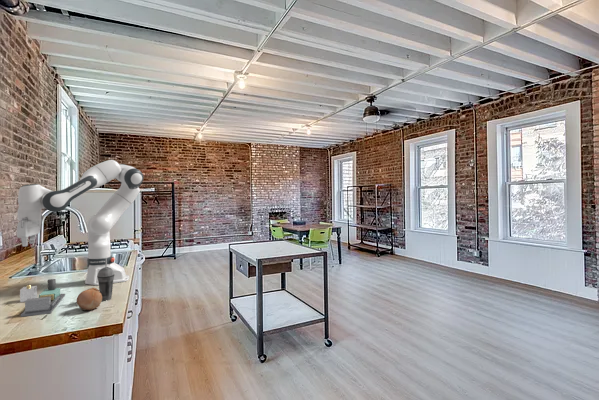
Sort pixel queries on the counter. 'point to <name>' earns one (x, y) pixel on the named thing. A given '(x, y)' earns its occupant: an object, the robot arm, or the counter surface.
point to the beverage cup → (106, 282)
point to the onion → (89, 299)
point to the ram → (51, 290)
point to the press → (41, 305)
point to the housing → (28, 293)
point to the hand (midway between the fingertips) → (28, 244)
